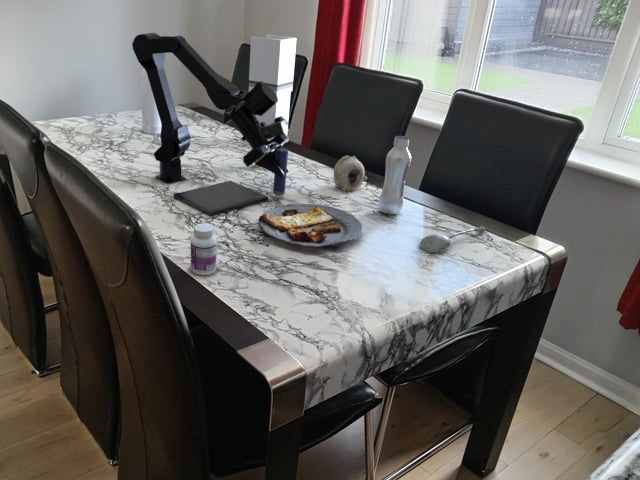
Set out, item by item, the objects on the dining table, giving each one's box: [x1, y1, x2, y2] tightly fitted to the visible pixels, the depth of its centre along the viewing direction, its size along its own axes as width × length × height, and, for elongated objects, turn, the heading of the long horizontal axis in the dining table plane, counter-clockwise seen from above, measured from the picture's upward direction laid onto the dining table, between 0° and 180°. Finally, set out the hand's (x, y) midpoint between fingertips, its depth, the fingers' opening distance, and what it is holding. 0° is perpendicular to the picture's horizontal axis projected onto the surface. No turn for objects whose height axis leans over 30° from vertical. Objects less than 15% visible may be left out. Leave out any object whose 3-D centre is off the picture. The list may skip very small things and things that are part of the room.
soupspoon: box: [419, 225, 486, 254], centre depth 139 cm, size 22×3×7 cm
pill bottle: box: [190, 223, 218, 276], centre depth 117 cm, size 5×5×10 cm
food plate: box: [258, 202, 363, 248], centre depth 139 cm, size 25×23×4 cm
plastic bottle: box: [377, 135, 412, 215], centre depth 149 cm, size 6×7×20 cm
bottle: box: [140, 67, 161, 135], centre depth 205 cm, size 8×8×30 cm
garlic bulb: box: [333, 155, 368, 192], centre depth 168 cm, size 9×8×10 cm
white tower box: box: [245, 34, 298, 145], centre depth 201 cm, size 11×11×35 cm
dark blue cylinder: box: [272, 147, 289, 199], centre depth 155 cm, size 3×3×13 cm
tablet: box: [173, 180, 269, 217], centre depth 156 cm, size 16×20×1 cm
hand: (285, 174), depth 154 cm, fingers closed on dark blue cylinder, 3 cm apart
